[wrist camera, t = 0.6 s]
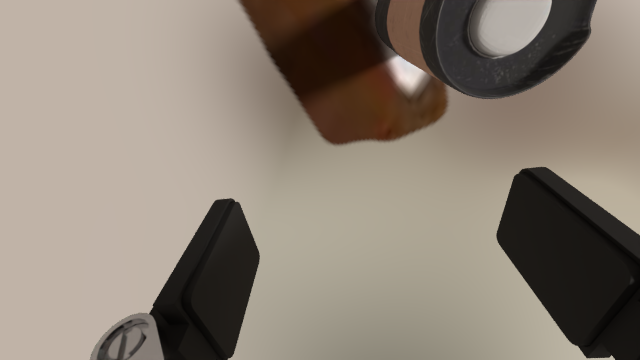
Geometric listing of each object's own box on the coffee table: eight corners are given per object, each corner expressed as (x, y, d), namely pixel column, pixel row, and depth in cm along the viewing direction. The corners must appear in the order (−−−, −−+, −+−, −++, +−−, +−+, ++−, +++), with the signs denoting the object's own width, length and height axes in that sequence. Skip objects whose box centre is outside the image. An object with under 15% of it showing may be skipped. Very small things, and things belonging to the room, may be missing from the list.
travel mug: (357, 22, 29) (397, 39, 12) (408, -51, 26) (557, -165, 9) (406, 66, 32) (494, 129, 15) (458, 4, 28) (653, -6, 11)
